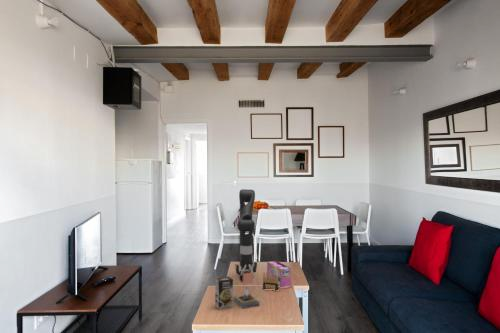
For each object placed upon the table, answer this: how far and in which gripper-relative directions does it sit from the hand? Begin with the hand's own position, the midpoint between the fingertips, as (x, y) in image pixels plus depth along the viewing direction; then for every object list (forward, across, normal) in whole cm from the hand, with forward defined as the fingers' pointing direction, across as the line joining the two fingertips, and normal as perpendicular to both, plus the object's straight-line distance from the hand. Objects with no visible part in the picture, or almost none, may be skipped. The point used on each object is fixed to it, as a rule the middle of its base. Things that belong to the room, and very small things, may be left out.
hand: (246, 280), depth 183 cm
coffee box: (+14, +14, -1) cm, 20 cm away
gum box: (+14, -36, -23) cm, 45 cm away
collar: (+1, 0, 0) cm, 1 cm away
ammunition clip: (+14, -24, -13) cm, 31 cm away
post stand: (+13, 0, 0) cm, 13 cm away
